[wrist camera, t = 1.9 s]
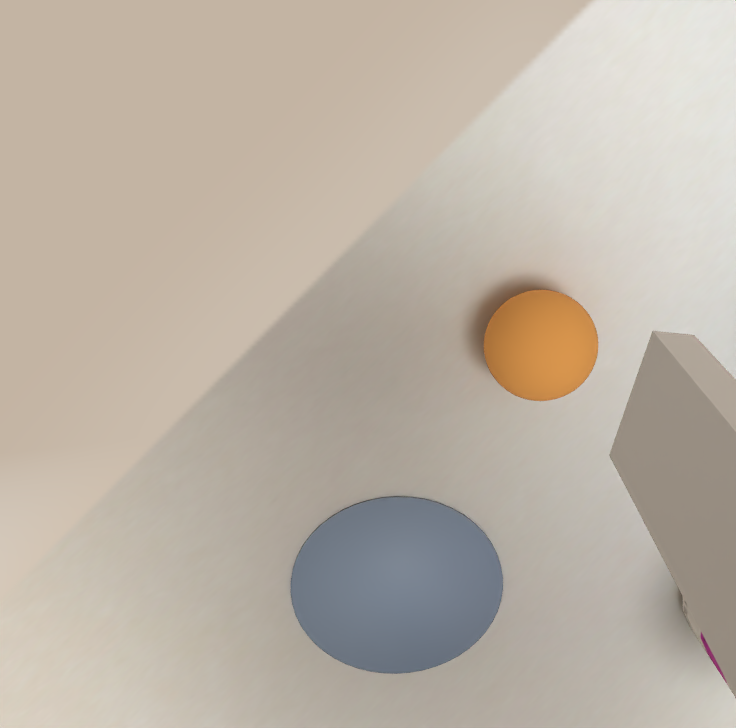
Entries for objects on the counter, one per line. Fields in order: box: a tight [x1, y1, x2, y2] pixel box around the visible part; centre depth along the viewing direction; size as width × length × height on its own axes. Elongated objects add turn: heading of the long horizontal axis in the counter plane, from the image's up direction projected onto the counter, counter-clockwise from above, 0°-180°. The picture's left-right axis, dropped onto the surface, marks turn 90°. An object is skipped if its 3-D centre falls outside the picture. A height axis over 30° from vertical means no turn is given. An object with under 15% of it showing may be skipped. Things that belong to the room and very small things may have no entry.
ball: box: [484, 290, 598, 401], centre depth 34 cm, size 6×6×6 cm
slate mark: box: [291, 497, 503, 674], centre depth 43 cm, size 13×13×1 cm
